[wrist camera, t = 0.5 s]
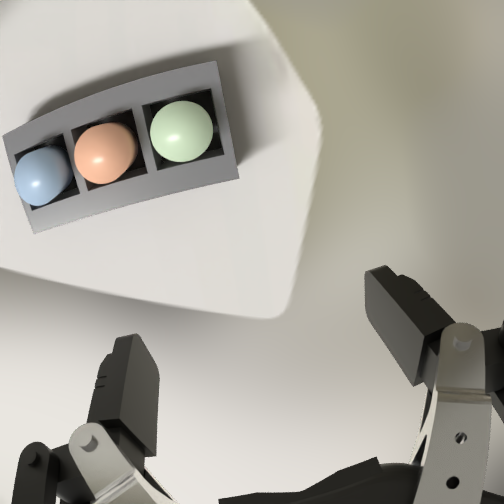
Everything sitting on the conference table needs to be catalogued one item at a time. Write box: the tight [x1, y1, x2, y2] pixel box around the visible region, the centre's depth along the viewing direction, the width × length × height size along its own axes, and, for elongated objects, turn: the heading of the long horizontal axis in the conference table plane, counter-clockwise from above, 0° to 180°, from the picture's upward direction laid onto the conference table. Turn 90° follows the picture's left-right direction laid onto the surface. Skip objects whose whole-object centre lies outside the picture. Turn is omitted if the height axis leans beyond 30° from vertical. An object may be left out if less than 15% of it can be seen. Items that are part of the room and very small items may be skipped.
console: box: [3, 61, 239, 234], centre depth 25 cm, size 20×10×4 cm, turn 100°
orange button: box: [74, 122, 138, 184], centre depth 23 cm, size 5×5×4 cm
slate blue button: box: [14, 145, 73, 206], centre depth 23 cm, size 5×5×4 cm
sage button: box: [150, 101, 213, 162], centre depth 23 cm, size 5×5×4 cm
